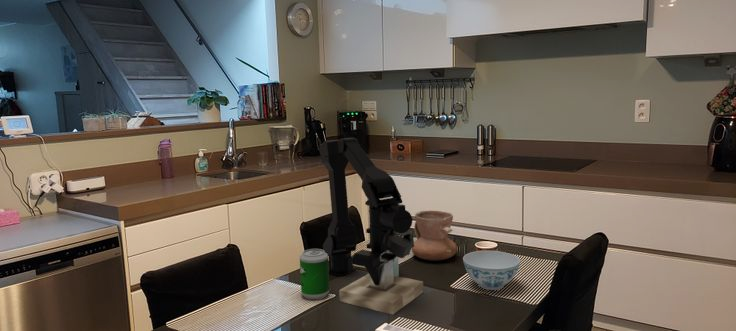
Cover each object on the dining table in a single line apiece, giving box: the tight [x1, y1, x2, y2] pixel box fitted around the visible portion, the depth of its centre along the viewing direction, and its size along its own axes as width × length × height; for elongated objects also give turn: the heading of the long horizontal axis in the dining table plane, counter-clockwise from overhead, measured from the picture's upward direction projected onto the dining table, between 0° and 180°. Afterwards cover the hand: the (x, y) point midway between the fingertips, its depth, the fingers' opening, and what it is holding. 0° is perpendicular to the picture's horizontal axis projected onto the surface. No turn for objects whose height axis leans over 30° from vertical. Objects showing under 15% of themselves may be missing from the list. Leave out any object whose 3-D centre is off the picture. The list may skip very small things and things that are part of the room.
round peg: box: [393, 257, 400, 277], centre depth 152 cm, size 7×7×8 cm
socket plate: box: [338, 273, 424, 315], centre depth 137 cm, size 16×16×3 cm
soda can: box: [299, 248, 330, 300], centre depth 139 cm, size 8×8×12 cm
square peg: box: [370, 257, 394, 292], centre depth 137 cm, size 4×4×8 cm
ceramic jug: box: [411, 209, 458, 262], centre depth 168 cm, size 18×14×14 cm
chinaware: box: [462, 250, 521, 291], centre depth 142 cm, size 15×15×8 cm
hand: (381, 282), depth 137 cm, fingers closed on square peg, 4 cm apart
